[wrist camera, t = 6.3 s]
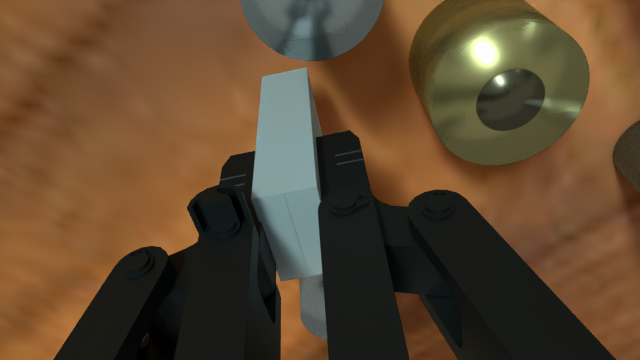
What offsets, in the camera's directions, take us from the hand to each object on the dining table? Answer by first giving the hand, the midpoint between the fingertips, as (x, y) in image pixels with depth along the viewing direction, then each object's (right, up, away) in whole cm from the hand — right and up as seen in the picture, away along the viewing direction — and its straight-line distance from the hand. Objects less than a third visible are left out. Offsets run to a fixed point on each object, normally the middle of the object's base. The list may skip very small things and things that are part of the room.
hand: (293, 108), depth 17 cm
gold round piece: (+6, +2, +1) cm, 7 cm away
